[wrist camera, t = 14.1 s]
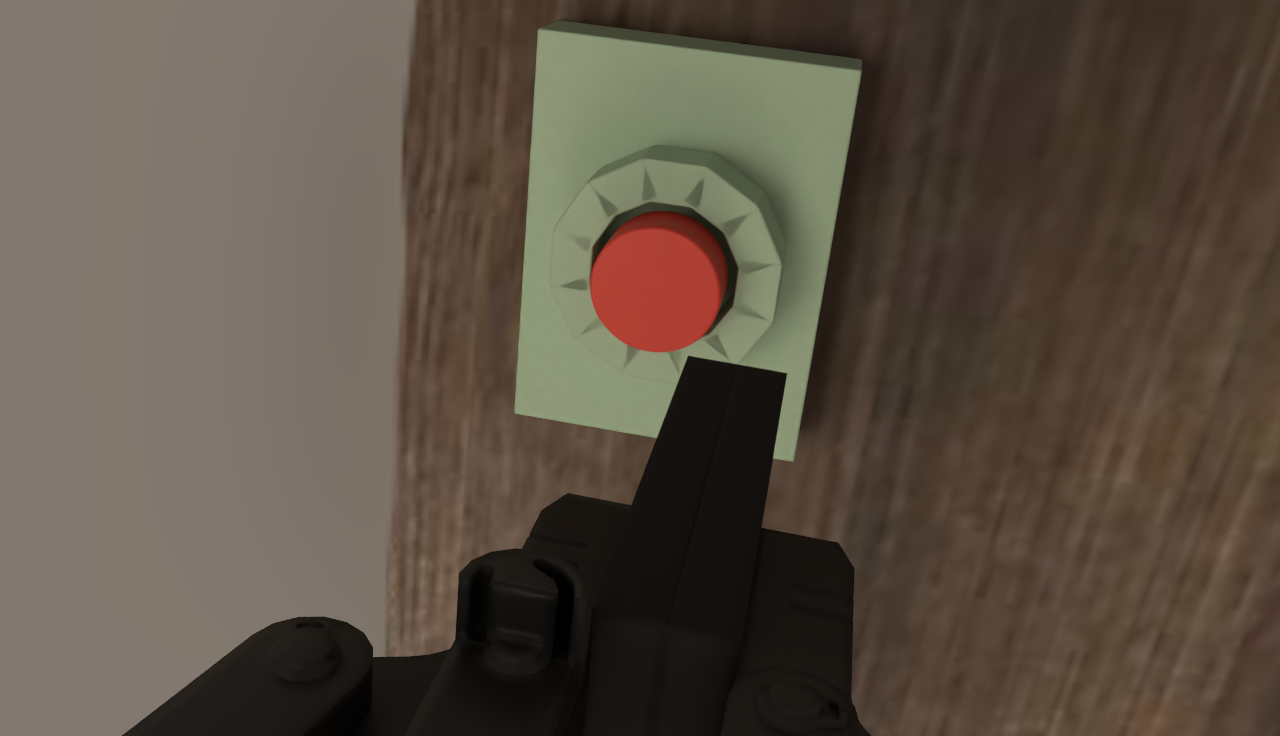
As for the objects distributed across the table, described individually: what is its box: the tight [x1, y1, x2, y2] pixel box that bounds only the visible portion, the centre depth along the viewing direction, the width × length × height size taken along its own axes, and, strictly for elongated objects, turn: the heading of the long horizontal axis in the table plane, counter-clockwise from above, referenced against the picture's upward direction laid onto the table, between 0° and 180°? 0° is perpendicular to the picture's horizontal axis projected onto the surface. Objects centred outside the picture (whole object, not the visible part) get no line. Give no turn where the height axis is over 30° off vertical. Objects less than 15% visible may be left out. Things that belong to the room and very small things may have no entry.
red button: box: [590, 211, 728, 352], centre depth 32 cm, size 4×4×2 cm
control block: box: [514, 20, 862, 461], centre depth 34 cm, size 12×9×4 cm
